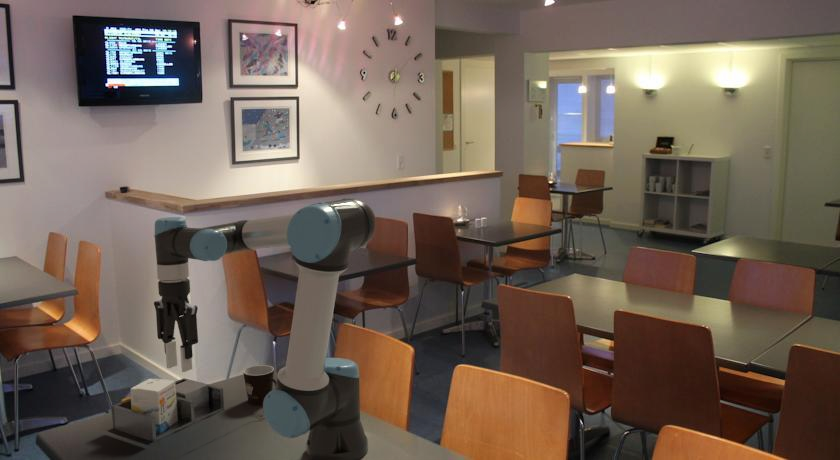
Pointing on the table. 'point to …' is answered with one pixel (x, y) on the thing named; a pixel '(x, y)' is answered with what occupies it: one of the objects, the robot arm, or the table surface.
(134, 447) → the table surface
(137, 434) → the grey compartment tray
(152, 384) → the ink box
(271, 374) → the coffee mug
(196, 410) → the light grey block
